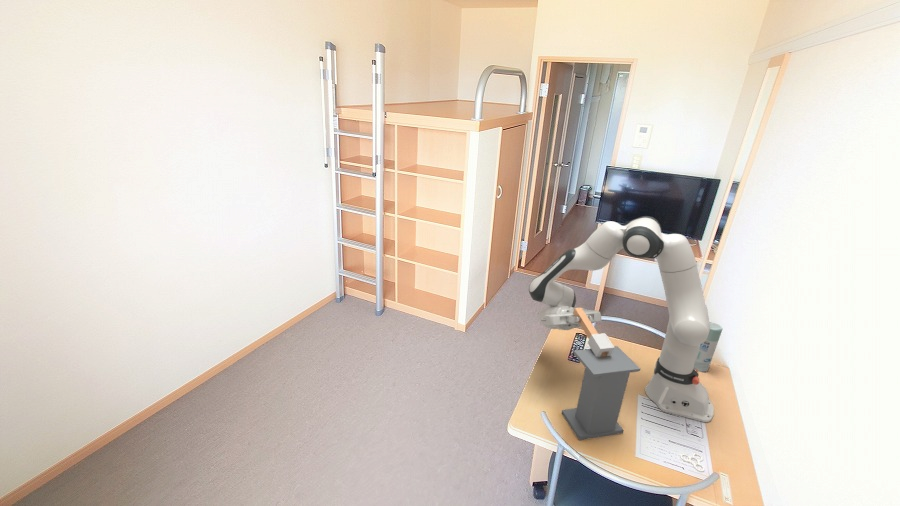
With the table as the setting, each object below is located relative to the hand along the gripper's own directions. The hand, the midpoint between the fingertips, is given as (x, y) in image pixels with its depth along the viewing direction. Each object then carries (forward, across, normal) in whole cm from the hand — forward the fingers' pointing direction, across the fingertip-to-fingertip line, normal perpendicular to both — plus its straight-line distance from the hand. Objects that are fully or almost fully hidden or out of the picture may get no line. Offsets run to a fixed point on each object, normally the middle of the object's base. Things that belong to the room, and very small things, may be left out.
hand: (584, 318), depth 141 cm
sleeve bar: (+2, 0, +5) cm, 5 cm away
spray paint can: (-20, +62, +25) cm, 70 cm away
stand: (-3, 0, +35) cm, 35 cm away
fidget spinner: (+15, +23, +46) cm, 53 cm away
